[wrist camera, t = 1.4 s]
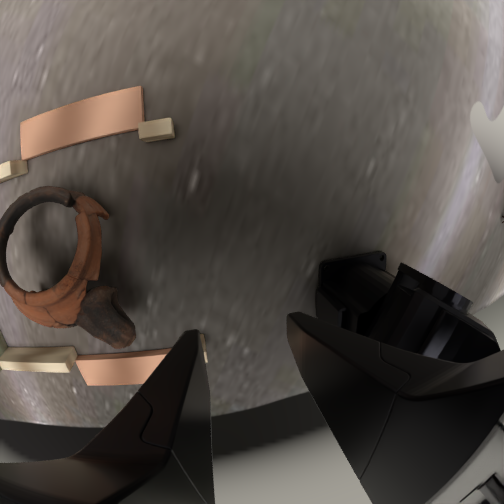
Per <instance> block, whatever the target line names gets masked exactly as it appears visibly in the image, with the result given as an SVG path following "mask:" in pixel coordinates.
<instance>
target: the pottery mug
mask: <svg viewBox="0 0 504 504" xmlns="http://www.w3.org/2000/svg"><path fill="white" fill-rule="evenodd" d="M44 202H55V203H60V204H62V205H64V206H66V207H73V208H74V209H75V210H76V211H77V212H78V213H79V214H78V215H77V216H76V218H75V221H76V224H77V232H78V244H77V249H76V254H75V257H74V260H73V262H72V264H71V267H70V269H69V271H68V273H67V275H66V276H64V277H63V279H62V280H61V281H60V282H59V283H57V284H56V285H55V286H53V287H52V288H50V289H48V290H45V291H39V292H35V291H31V292H28V291H25V290H23V289H21V288H20V287H19V286H18V285H17V284H16V283H15V282H14V281H13V280H12V278H11V276H10V274H9V271H8V268H7V263H6V247H7V242H8V239H9V236H10V234H12V232H13V230H14V226H15V224H16V223H17V221H18V219H19V218H20V217H21V216H22V215H23V214H24V213H25V212H26V211H27V210H29V209H30V208H32V207H33V206H36V205H38V204H40V203H44ZM98 216H100V217H102V218H103V219H105V220H107V219H108V218H109V214H108V213H107V212H106V210H105V209H104V208H103V207H102V206H101V205H100V204H99V203H97V202H96V201H95V200H93V199H91V198H90V197H87V196H86V195H85V194H84V193H81V192H76V191H69V190H66V189H63V188H60V187H52V186H44V187H39V188H36V189H33V190H31V191H30V192H29V193H25V194H24V195H22V196H20V197H19V198H18V199H17V200H16V201H15V202H14V203H13V204H11V205H10V206H9V208H8V209H7V210H6V212H5V213H4V215H3V216H2V218H1V220H0V284H1V286H2V287H4V289H5V291H6V292H7V293H8V294H9V295H10V296H11V297H12V300H13V302H14V303H15V305H16V306H17V308H18V309H19V310H20V311H21V312H22V313H23V314H24V315H25V316H26V317H28V318H29V319H31V320H32V321H34V322H37V323H39V324H41V325H44V326H48V327H54V328H70V327H74V326H77V325H78V326H80V327H82V328H83V329H85V330H86V331H87V332H89V333H90V334H91V335H92V336H94V337H95V338H98V339H100V340H102V341H104V342H106V343H107V344H109V345H111V346H112V347H113V348H115V349H120V348H125V347H127V346H130V345H131V344H132V343H133V341H134V340H135V338H136V333H135V325H134V323H133V322H132V321H131V320H130V318H129V317H128V316H127V315H126V313H125V312H124V311H123V310H122V308H121V306H120V305H119V302H118V297H117V289H116V287H111V288H110V287H108V286H98V287H95V288H93V289H92V290H90V291H89V292H88V293H87V294H86V286H87V282H88V281H97V280H98V278H99V271H100V261H101V255H102V247H101V226H100V222H99V219H98Z"/></svg>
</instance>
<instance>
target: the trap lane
mask: <svg viewBox="0 0 504 504" xmlns="http://www.w3.org/2000/svg"><path fill="white" fill-rule="evenodd" d="M135 130H139V139H141V140H142V141H144V142H152V141H158V140H164V139H171V138H175V133H174V123H173V121H172V119H171V117H170V118H164V119H158V120H152V121H146V122H145V120H144V103H143V88H142V87H141V86H137V87H132V88H128V89H123V90H119V91H114V92H110V93H106V94H102V95H99V96H95V97H91V98H88V99H84V100H81V101H78V102H75V103H71V104H68V105H65V106H62V107H59V108H57V109H54V110H51V111H48V112H46V113H43V114H40V115H38V116H35V117H33V118H30V119H28V120H26V121H23V122H21V156H22V160H17V161H8V162H6V163H3V164H1V165H0V183H2V182H5V181H7V180H10V179H12V178H15V177H18V176H21V175H23V174H26V173H28V166H27V160H29V159H32V158H35V157H38V156H41V155H44V154H47V153H50V152H53V151H56V150H59V149H62V148H66V147H69V146H72V145H76V144H80V143H83V142H87V141H91V140H95V139H99V138H103V137H107V136H111V135H116V134H120V133H125V132H130V131H135ZM200 338H201V342H202V347H203V351H204V357H205V362H208V360H207V351H206V343H205V338H204V334H200ZM179 339H180V337H179ZM171 349H172V348H169V349H160V350H150V351H140V352H128V353H115V354H98V355H77V353H76V350H75V348H74V346H71V347H8V346H7V344H6V342H5V340H4V338H3V336H2V333H1V331H0V372H1V370H2V369H5V370H17V371H34V372H70V370H71V368H72V366H73V364H74V362H75V361H76V363H77V365H78V367H79V369H80V371H81V373H82V375H83V377H84V379H85V381H86V383H87V385H88V386H90V385H127V384H144V382H145V381H146V380H147V379H148V377H149V376H150V375H151V374H152V372H153V371H154V370H155V369H156V367H157V366H158V365H159V364H160V362H161V361H162V360H163V359H164V357H165V356H166V355H167V354H168V352H169V351H170V350H171Z"/></svg>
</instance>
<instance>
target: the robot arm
mask: <svg viewBox="0 0 504 504" xmlns="http://www.w3.org/2000/svg"><path fill="white" fill-rule="evenodd" d="M381 256H382V258H381V259H380V257H381ZM326 265H327V266H328V267H327V269H325V270H324V267H325V266H326ZM385 270H386V254H385V253H384V252H382V251H378V252H373V253H367V254H362V255H356V256H350V257H344V258H339V259H333V260H327V261H323V262H322V263H321V264H320V265H319V287H318V289H317V304H316V315H317V317H318V319H317V318H315V317H312V316H309V315H307V314H304V313H302V312H293V313H289V314H288V315H287V338H288V342H289V345H290V347H291V350H292V353H293V355H294V358H295V361H296V363H297V366H298V368H299V371H300V374H301V376H302V378H303V380H304V382H305V384H306V386H307V388H308V390H309V391H310V393H311V395H312V397H313V399H314V401H315V402H316V404H317V406H318V408H319V409H320V411H321V413H322V415H323V417H324V419H325V420H326V422H327V424H328V426H329V428H330V429H331V431H332V433H333V435H334V437H335V438H336V440H337V442H338V443H339V446H340V447H341V449H342V451H343V453H344V454H345V456H346V458H347V460H348V461H349V463H350V465H351V467H352V468H353V470H354V472H355V474H356V475H357V477H358V479H359V480H360V483H361V485H362V486H363V488H364V490H365V492H366V493H367V495H368V497H369V498H370V500H371V502H372V504H504V350H502V351H501V350H500V348H499V345H498V342H497V340H496V337H495V335H494V334H493V332H492V331H491V330H490V329H489V328H488V327H487V326H486V325H485V324H484V323H483V322H482V321H480V320H479V319H477V318H475V317H474V316H472V315H471V314H469V313H468V312H469V310H470V308H471V306H472V304H473V302H472V301H470V300H468V299H467V298H465V297H463V296H462V295H460V294H458V293H456V292H455V291H453V290H451V289H449V288H448V287H446V286H444V285H442V284H441V283H439V282H437V281H435V280H433V279H432V278H430V277H428V276H426V275H424V274H422V273H420V272H419V271H417V270H415V269H413V268H411V267H409V266H407V265H405V264H403V263H400V265H399V267H398V270H399V271H398V273H397V275H396V277H395V276H394V275H392V274H390V273H389V272H387V271H385ZM0 504H215V497H214V481H213V462H212V439H211V405H210V390H209V383H208V377H207V371H206V364H205V357H204V351H203V347H202V342H201V338H200V333H199V330H197V329H195V330H188V331H185V332H184V334H183V335H182V336H181V337H180V339H179V340H178V341H177V342H176V344H175V345H174V346H173V347H172V349H171V350H170V351H169V352H168V354H167V355H166V356H165V357H164V359H163V360H162V361H161V362H160V364H159V365H158V366H157V367H156V369H155V370H154V371H153V372H152V374H151V375H150V376H149V377H148V379H147V380H146V381H145V382H144V384H143V385H142V386H141V387H140V389H139V390H138V392H136V394H135V395H134V396H133V397H132V399H131V400H130V401H129V402H128V403H127V405H126V406H125V407H124V408H123V409H122V410H121V411H120V412H119V414H118V415H117V416H116V417H115V418H114V419H113V420H112V421H111V422H110V423H109V424H108V425H107V426H106V427H105V428H104V429H103V430H102V431H101V432H99V434H97V435H96V436H95V437H94V438H93V439H92V440H91V441H90V442H89V443H88V444H87V445H86V446H85V447H84V448H83V449H82V450H80V451H79V452H77V453H76V454H74V455H73V456H70V457H67V458H64V459H58V460H48V461H37V462H23V463H0Z"/></svg>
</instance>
